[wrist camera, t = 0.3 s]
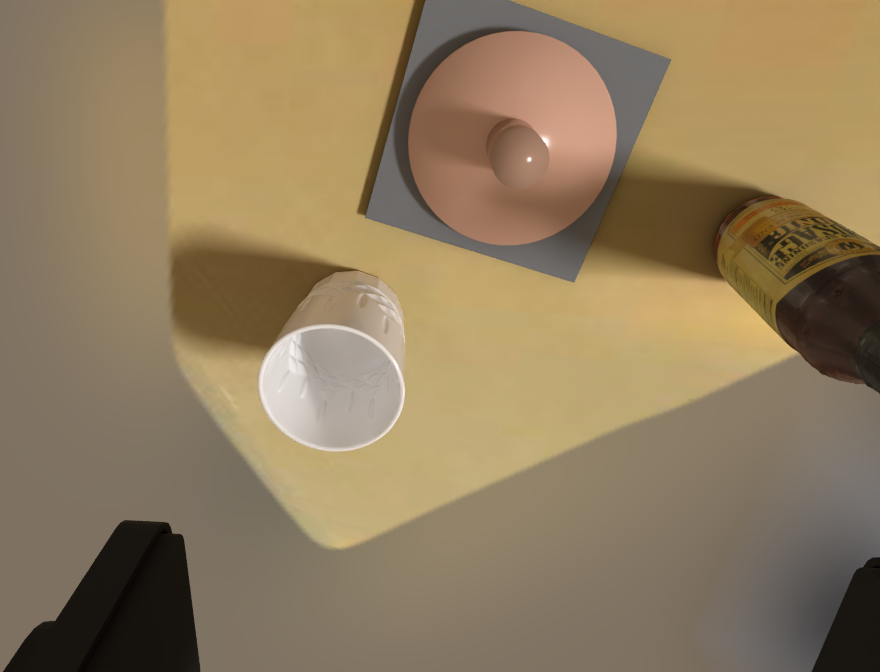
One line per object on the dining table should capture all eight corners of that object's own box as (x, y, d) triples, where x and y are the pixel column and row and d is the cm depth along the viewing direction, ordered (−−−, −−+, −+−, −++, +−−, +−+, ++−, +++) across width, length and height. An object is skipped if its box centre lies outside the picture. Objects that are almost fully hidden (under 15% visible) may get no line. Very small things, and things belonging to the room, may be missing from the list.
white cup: (281, 346, 45) (241, 426, 36) (314, 243, 42) (279, 303, 33) (389, 382, 47) (376, 468, 38) (429, 285, 43) (425, 354, 34)
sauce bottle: (811, 184, 40) (1105, 313, 23) (801, 279, 43) (1057, 461, 25) (703, 198, 41) (908, 336, 23) (700, 291, 44) (881, 479, 26)
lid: (445, -1, 36) (445, -5, 31) (647, 71, 37) (678, 79, 32) (385, 207, 41) (377, 232, 36) (565, 263, 42) (581, 295, 37)
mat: (433, -27, 36) (433, -28, 35) (667, 59, 37) (671, 59, 37) (366, 215, 41) (365, 217, 41) (572, 279, 43) (574, 282, 43)
